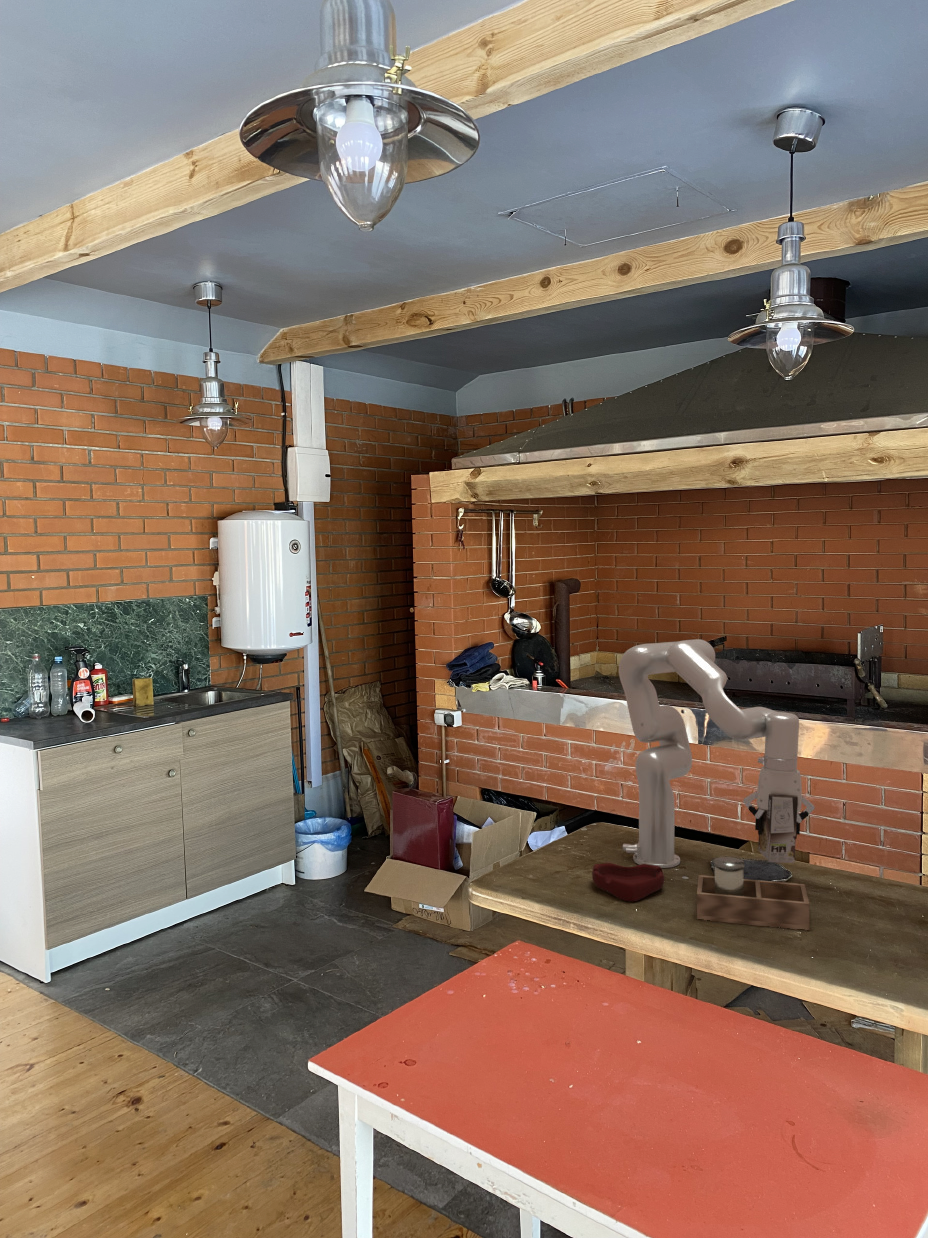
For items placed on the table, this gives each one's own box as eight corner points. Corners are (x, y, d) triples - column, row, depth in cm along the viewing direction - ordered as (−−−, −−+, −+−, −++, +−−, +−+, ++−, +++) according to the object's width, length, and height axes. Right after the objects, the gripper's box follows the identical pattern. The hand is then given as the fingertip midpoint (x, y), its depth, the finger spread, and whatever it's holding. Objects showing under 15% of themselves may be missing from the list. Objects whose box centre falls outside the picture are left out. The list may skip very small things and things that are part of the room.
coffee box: (795, 863, 210) (799, 797, 209) (768, 862, 210) (771, 796, 209) (782, 850, 219) (786, 787, 218) (756, 850, 219) (759, 786, 218)
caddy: (696, 919, 201) (696, 893, 201) (698, 899, 214) (698, 875, 213) (809, 930, 194) (809, 904, 194) (804, 909, 207) (804, 884, 206)
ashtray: (593, 903, 212) (593, 883, 212) (591, 880, 228) (591, 861, 228) (668, 906, 210) (668, 885, 210) (661, 883, 226) (661, 864, 226)
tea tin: (713, 912, 203) (713, 865, 203) (713, 901, 210) (714, 856, 209) (744, 915, 201) (744, 867, 201) (743, 904, 208) (744, 858, 207)
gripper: (743, 764, 212) (739, 836, 213) (820, 770, 207) (816, 844, 208) (742, 757, 219) (739, 826, 221) (817, 763, 214) (813, 834, 216)
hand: (776, 834), depth 214 cm, fingers closed on coffee box, 7 cm apart
